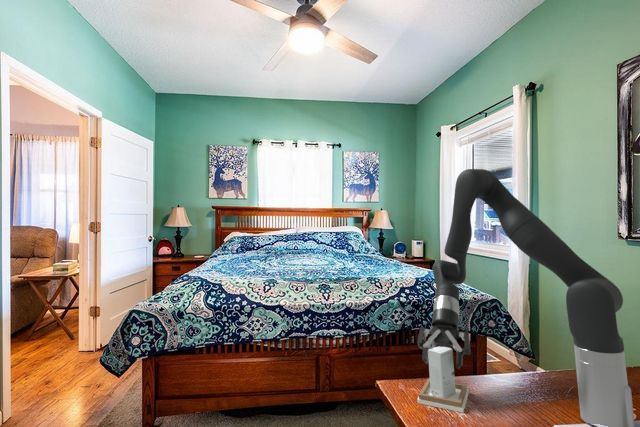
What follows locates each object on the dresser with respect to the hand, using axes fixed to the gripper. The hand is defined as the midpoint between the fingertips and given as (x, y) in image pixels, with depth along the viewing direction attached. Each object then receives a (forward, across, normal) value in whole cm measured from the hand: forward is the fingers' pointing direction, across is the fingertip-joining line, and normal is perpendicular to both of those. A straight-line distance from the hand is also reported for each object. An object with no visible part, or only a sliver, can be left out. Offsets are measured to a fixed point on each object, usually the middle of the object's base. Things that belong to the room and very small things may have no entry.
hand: (441, 364), depth 93 cm
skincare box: (+5, 0, +6) cm, 8 cm away
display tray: (+6, 0, +7) cm, 9 cm away
